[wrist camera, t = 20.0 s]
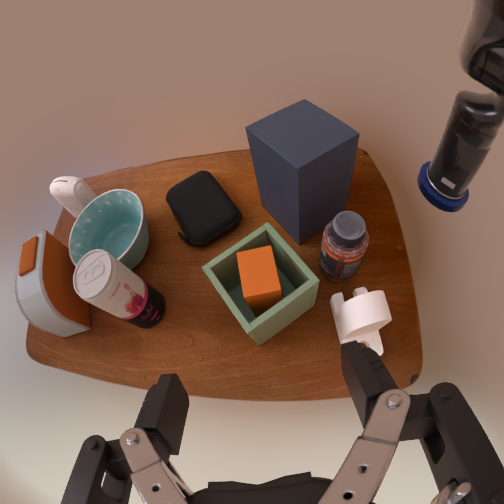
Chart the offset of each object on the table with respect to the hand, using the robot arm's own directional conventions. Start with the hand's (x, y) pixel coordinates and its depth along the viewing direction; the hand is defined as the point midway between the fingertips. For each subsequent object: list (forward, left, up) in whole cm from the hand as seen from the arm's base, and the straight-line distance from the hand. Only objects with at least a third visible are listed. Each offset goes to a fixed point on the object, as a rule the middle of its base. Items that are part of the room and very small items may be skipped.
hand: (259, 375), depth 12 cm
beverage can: (+11, -20, -25) cm, 34 cm away
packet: (-5, -10, -24) cm, 27 cm away
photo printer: (+15, -49, -25) cm, 57 cm away
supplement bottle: (-17, -8, -25) cm, 31 cm away
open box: (-5, -11, -25) cm, 28 cm away
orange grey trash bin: (+25, -32, -25) cm, 48 cm away
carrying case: (-5, -31, -25) cm, 40 cm away
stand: (-19, -20, -25) cm, 37 cm away
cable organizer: (-12, +1, -25) cm, 28 cm away
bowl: (+10, -33, -25) cm, 43 cm away
